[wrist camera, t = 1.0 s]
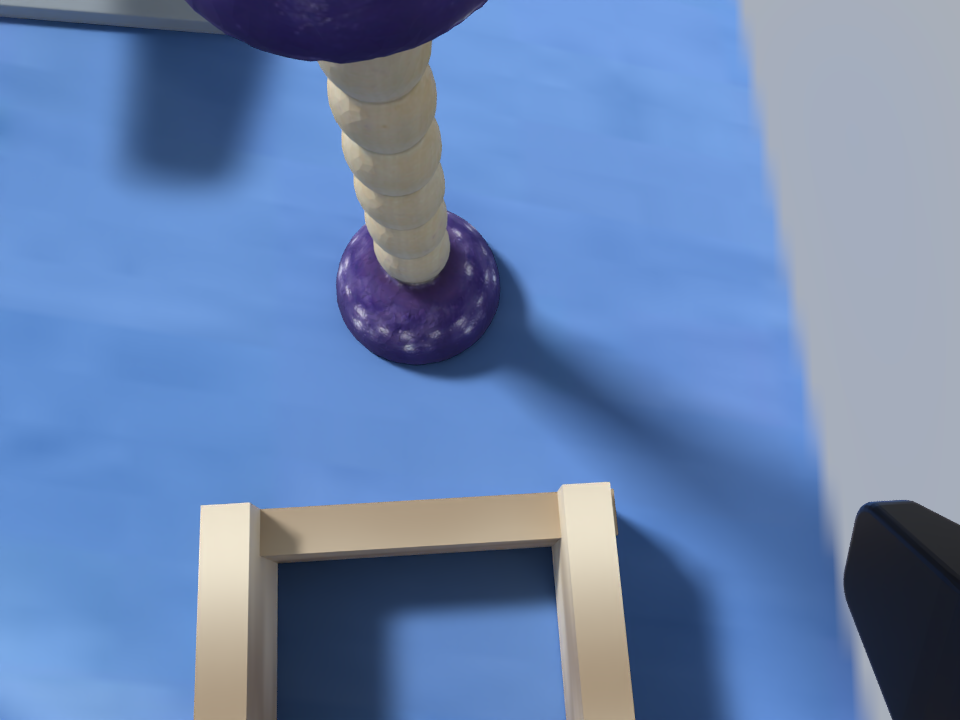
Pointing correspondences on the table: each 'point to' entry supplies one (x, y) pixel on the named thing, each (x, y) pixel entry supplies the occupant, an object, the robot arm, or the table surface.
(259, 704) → the birch bracket
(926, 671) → the robot arm
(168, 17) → the shower valve
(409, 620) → the table surface
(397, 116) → the toy lamp
